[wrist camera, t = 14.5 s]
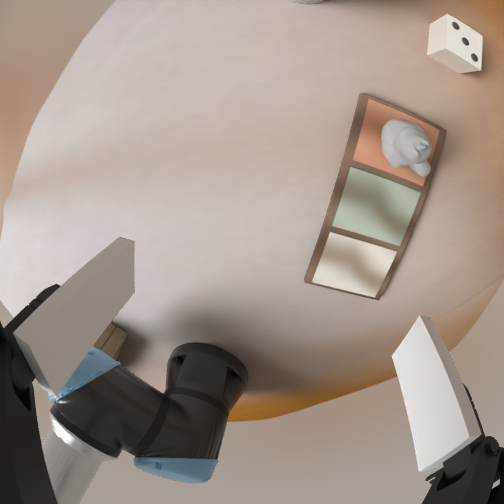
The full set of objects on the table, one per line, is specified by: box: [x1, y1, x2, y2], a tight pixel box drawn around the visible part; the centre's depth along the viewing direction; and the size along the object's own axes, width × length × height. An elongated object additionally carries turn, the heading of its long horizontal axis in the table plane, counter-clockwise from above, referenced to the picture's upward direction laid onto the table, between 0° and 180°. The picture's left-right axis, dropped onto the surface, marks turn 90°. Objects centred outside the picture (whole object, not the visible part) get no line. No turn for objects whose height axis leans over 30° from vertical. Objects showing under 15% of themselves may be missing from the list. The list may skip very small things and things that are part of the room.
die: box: [427, 14, 482, 74], centre depth 17 cm, size 5×5×5 cm
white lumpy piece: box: [381, 119, 432, 177], centre depth 22 cm, size 5×7×8 cm
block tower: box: [91, 322, 128, 360], centre depth 51 cm, size 8×8×29 cm
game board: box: [304, 93, 446, 300], centre depth 29 cm, size 24×11×1 cm, turn 169°
